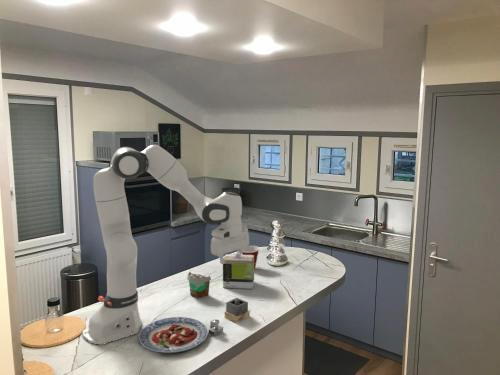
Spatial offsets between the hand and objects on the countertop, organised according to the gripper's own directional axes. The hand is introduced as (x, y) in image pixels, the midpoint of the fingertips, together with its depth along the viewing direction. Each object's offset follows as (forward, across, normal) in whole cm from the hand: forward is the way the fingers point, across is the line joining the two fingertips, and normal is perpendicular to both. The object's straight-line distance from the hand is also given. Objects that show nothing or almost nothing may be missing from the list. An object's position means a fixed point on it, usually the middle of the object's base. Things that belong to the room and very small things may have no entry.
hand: (230, 260), depth 175 cm
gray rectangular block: (+23, +15, +6) cm, 28 cm away
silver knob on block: (+23, +18, +10) cm, 31 cm away
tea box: (+22, -23, -16) cm, 36 cm away
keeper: (+22, +2, +7) cm, 24 cm away
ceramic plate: (+23, +31, +1) cm, 39 cm away
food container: (+23, +1, -22) cm, 31 cm away
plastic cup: (+22, -43, -27) cm, 56 cm away
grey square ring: (+20, +3, +7) cm, 21 cm away
